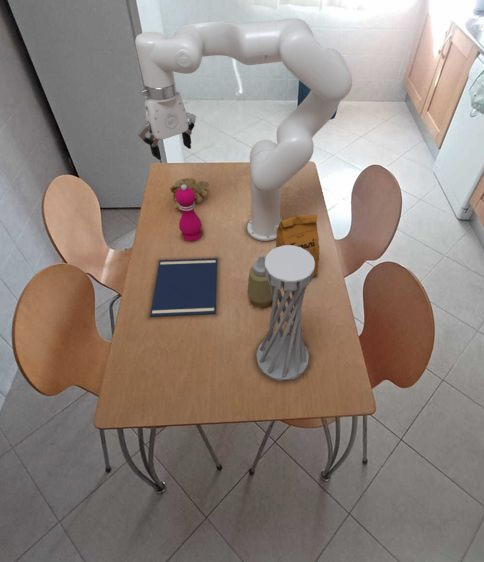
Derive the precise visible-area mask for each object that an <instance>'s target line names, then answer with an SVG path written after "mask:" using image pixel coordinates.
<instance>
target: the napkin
mask: <svg viewBox="0 0 484 562" xmlns="http://www.w3.org/2000/svg"><path fill="white" fill-rule="evenodd" d="M217 275H218V258H214V257H213V258H187V259H185V258H184V259H160V260H159V262H158V268H157V274H156V280H155V284H154V285H155V286H154V292H153V296H152V303H151V309H150V314H149V317H150V318H157V317H158V318H159V317H177V316H178V317H179V316H181V317H182V316H201V315H203V316H204V315H216V311H217V281H218V280H217V279H218V276H217Z"/></svg>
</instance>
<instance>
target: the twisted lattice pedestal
mask: <svg viewBox="0 0 484 562" xmlns="http://www.w3.org/2000/svg"><path fill="white" fill-rule="evenodd" d="M314 268H315V261H314V258H313V256H312V255H311V254H310V253H309V252H308V251H307V250H305V249H303V248H301V247H298V246H293V245H284V246H280V247H277V248H276V247H275V248H273V249H271V250H270V251H269V252H268V253H267V254H266V256H265V276H266V278H267V280H268V282H269V284H270V288H271V293H272V298H273V300H272V302H271V303H272V304H271V311H270V316H269V317H270V318H269V324H268V330H267V332H266V334H265V337H264V338H263V341H262V342H261V343H260V344H259V346H258V347H257V351H256V354H255V355H256V356H255V357H256V362H257V365H258V368H259V370H260V372H262V374H264V375H265V376H266V377H267V378H268V379H271V380H274V381H276V382H277V381H278V382H283V381H292V380H293V381H294V380H295V379H297V378H298V377H300V376H302V375H303V374H304V372H305V371H306V370H307V367H308V366H309V360H310V359H309V358H310V354H309V351H308V348H307V346H306V344H305V342H304V336H303V335H304V334H303V329H302V324H301V323H302V322H301V321H302V306H303V302H304V297H305V293H306V290H307V288H308V286H310V283H312V280H313V277H314V276H313V274H314ZM282 290H283V292H284V293H283V294H282ZM290 294H291V295H290ZM278 303H279V304H278ZM286 304H287V305H286ZM281 313H282V316H280V315H281ZM285 323H286V326H285V329H284V330H283V327H284V325H285ZM276 324H277V325H276ZM275 326H276V327H275ZM274 328H275V330H274ZM289 333H290V334H289Z"/></svg>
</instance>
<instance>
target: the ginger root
mask: <svg viewBox="0 0 484 562" xmlns="http://www.w3.org/2000/svg"><path fill="white" fill-rule="evenodd" d="M183 184H184V185H186V186H187V187H188V188H191V189H192V190H193V191H194V193H195V200H194V202H195V204H201V203H202V201H203V198H207V196H208V190H209V189H210V188H209V187H210V183H209V182H208V181H204V180H201V181H199V182H196V179H195V178H191V177H188V178H181V179H177V180H175V182H174V184H173V185H171V187H169V188H170V192H171V193H173V194H176V192H177V190H178V189H180V188H181V185H183ZM174 201H175V204H174V206H173V207H174V209H175V210H180V211H181V209H180V208H179V205H178V202H177V201H176V198H175V197H174Z"/></svg>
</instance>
